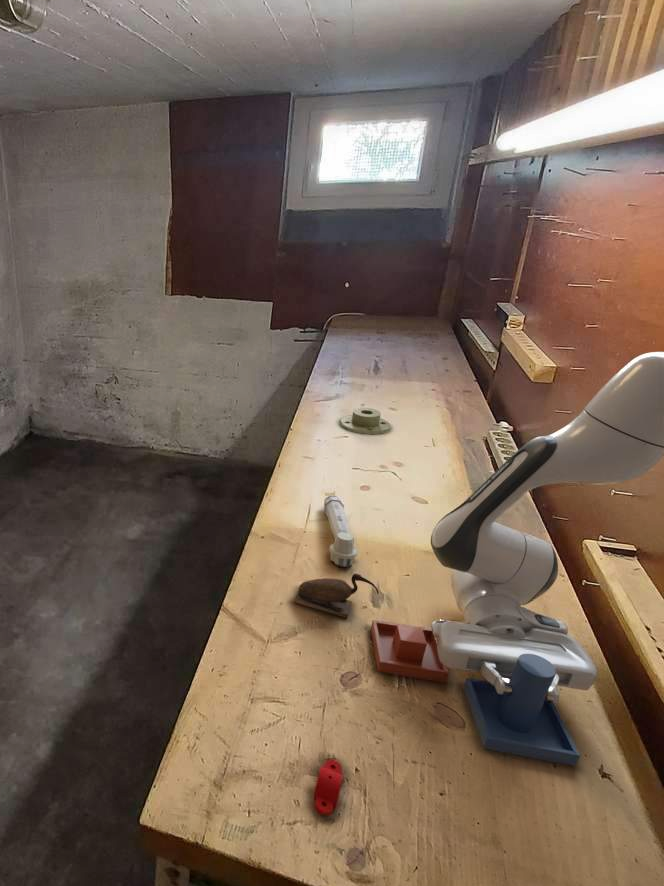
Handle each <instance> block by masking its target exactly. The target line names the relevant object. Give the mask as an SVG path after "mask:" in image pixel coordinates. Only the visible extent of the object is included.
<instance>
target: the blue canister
mask: <svg viewBox="0 0 664 886" xmlns="http://www.w3.org/2000/svg"><path fill="white" fill-rule="evenodd" d="M555 675H556V669H555V667H554V666H553V665H552V664H551V663H550V662H549V661H548V660H546V659H544V658H542V657H540V656H538V655H534V654H522V655H520V656H519V657H518V660H517V662H516V665H515V668H514V670H513V673H512V676H511V678H509V680H510V684H511V685H512V688H513V689H512V692H510V693H511V695H510V696H508V695H504V697H503V699H502V702H501V705H500V707H499V710H498V718H499V720H500V721H501V722H502V723H503V724H504V725H505V726H506V727H508V728H509V729H511V730H513V731H516V732H519V733H528V732H530V731H531V730H532V729H533V727H534V724H535V722H536V720H537V717H538V715H539V712H540V710H541V708H542V705H543V703H544V701H545V698H546V696H547V694H548V691H549V689H550V687H551V684H552V682H553V680H554V677H555Z"/></svg>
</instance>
